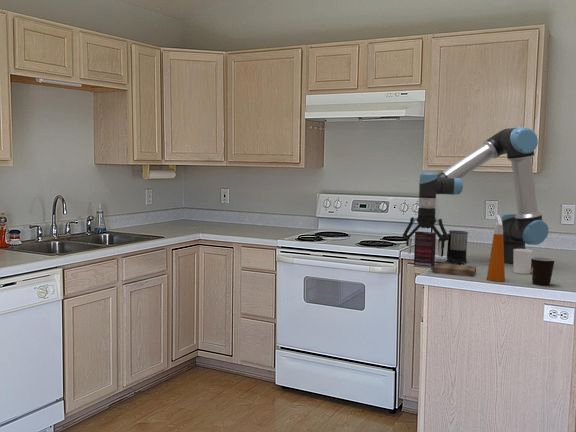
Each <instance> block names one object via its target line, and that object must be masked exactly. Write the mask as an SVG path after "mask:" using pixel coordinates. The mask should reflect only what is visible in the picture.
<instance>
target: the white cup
mask: <svg viewBox="0 0 576 432" xmlns="http://www.w3.org/2000/svg"><path fill="white" fill-rule="evenodd" d="M533 253H534V252H533V250H532V249H527V248H526V249H513V263H512V264H513V273H516V274H521V275H529V274H531V270H532V265H531V258H533Z"/></svg>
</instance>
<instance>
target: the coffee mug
mask: <svg viewBox="0 0 576 432" xmlns="http://www.w3.org/2000/svg"><path fill="white" fill-rule="evenodd" d="M554 265H555V259H554V258H549V257H540V256H539V257H538V256H537V257H534V256H532V258H531V278H532V279H531V280H532V285H535V286H536V285H537V286H542V287H543V286H545V287H546V286H548V287H549V286H550V285H551V282H552V281H551V280H552V275H553V270H554Z"/></svg>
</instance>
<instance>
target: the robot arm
mask: <svg viewBox="0 0 576 432" xmlns="http://www.w3.org/2000/svg"><path fill="white" fill-rule="evenodd" d="M538 143H539V140H538V135H537V134H536V132H535V131H534V130H533V129H531V128H530V127H523V126H518V127H509V128H504V129H501V130H499V131H498V132H496V133H495V134H493V135H492V136H490V137H489V138H487V139H486V140H484V141H483V144H482V145H480V146H479V147H477V148H476V149H474V150H473V151H472V152H470V153H468V154H467V155H466V156H464V157H462V158H461V159H459V160H458V161H456V162H455V163H453V164H452V165H450V166H448V167H447V168H446V169H444V170H443V171H441V172H440V173H436V172H422V173H420V175H419V181H418V189H419V190H418V208H417V217H410V219H409V223H408V225H407V227H406V228H405V230H404V232H403V234H402V238H405V240H406V241H405V242H406V244H405V245H406V247H407V249H408V250H407V254H411V253H412V237H413V235H415V232H417V231H418V230H419V229H420V228H421V229H431V230H433V231H432V232H434V233H436V237H438V239H439V238H440V240H441V241H440V242H439V251H438V252H439V253H438V256H439V257H441V253H442V249H443V250H444V249H445V242H447V241H448V239H449V237H448V235H447V234H448V233H447V231H446V229H445V226H444V224H443V218H439V219H438V218H436V208H435V207H436V206H437V195H452V196H454V195H460V194H461V193H462V192H463V189H464V183H463V180H462V178H464V177H466V176H467V175H468V174H470V173H471V172H473V171H475V170H476V169H478V168H479V167H481V166H482V165H483V164H485V163H487V162H489V161H490V160H491V159H497V158H498V157H500V156H502V155H506V157H507V160H508V161H509V162H510V163H511V170H512V177H513V185H514V186H513V187H514V194H515V200H516V209H517V210H516V211H517V213H516V214H515V213H514V214H509V213H508V214H503V215H502V217H501V220H502V225H503V244H504V264H513V249H527V248H526V244H527V245H532V246H536V245H540V244H542V243H544V242H545V240H546V239H547V238H548V236H549V231H550V230H549V226H548V224H547V223H546V222H545V221H544V220H543V215H542V213H541V211H538V210H539V209H538V204H537V203H538V202H537V195H536V188H535V180H534V179H535V177H534V169H533V162H532V159H533V158H534V157H535V150H536V149H537V147H538ZM415 222H416V223H417V225H416V226H415V228H413V230H411V232H409V231H410V229H411V228H412V227H413V225H414V223H415ZM436 223H437V225H439V228H440V230H441V232H442V234H441V233H440V231H439V230H438V229H437V227H436V226H435V224H436ZM408 233H409V234H408ZM442 235H444V237H445V238H444V237H443V236H442Z"/></svg>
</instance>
